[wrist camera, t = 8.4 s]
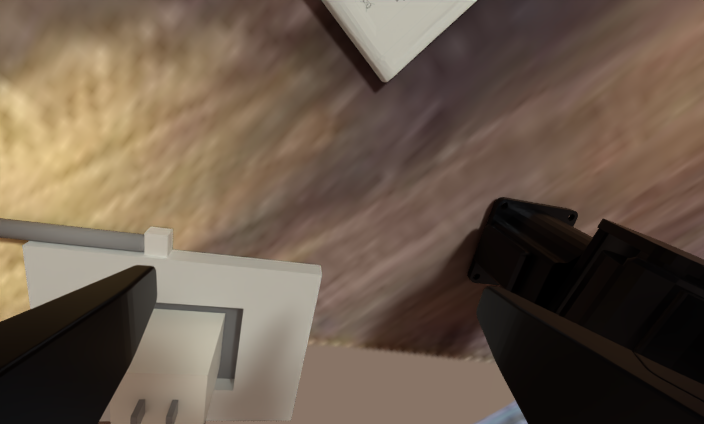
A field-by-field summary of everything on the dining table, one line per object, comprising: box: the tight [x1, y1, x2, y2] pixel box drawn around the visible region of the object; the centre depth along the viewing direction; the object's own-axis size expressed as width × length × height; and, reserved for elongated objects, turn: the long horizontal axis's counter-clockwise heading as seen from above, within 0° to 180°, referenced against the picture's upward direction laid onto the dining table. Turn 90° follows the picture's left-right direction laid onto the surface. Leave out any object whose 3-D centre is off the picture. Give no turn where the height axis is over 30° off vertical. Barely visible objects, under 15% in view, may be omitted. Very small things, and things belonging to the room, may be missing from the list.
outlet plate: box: [22, 241, 322, 421], centre depth 22 cm, size 16×13×1 cm
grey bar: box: [0, 218, 173, 257], centre depth 19 cm, size 9×2×1 cm, turn 78°
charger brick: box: [110, 309, 225, 424], centre depth 20 cm, size 5×5×6 cm
